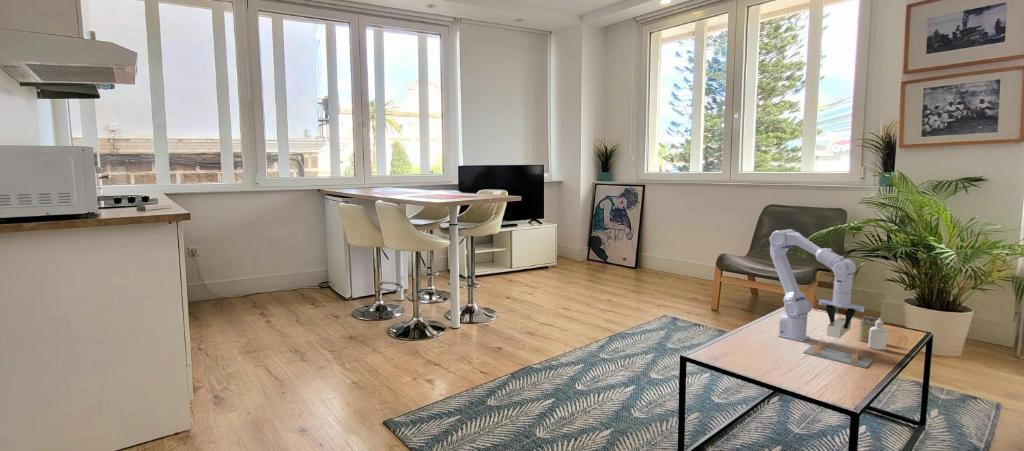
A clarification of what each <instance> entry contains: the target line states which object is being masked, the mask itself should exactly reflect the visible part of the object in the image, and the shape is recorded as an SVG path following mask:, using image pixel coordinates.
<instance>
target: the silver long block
mask: <svg viewBox="0 0 1024 451" xmlns="http://www.w3.org/2000/svg"><path fill="white" fill-rule="evenodd" d="M845 321H846V316H838V317H837V318H836V319H835V320H834V321H833V322H831V323H829V324H827V329H826V336H827V337H831V338H835V339H836V338H837V339H841V337H842V336H844V335H845V334H846V333H847V332H848V331H849V330H850V329H851V326H852V320H851V321H850V323H849V326H848V328H847V329H845Z"/></svg>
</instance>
